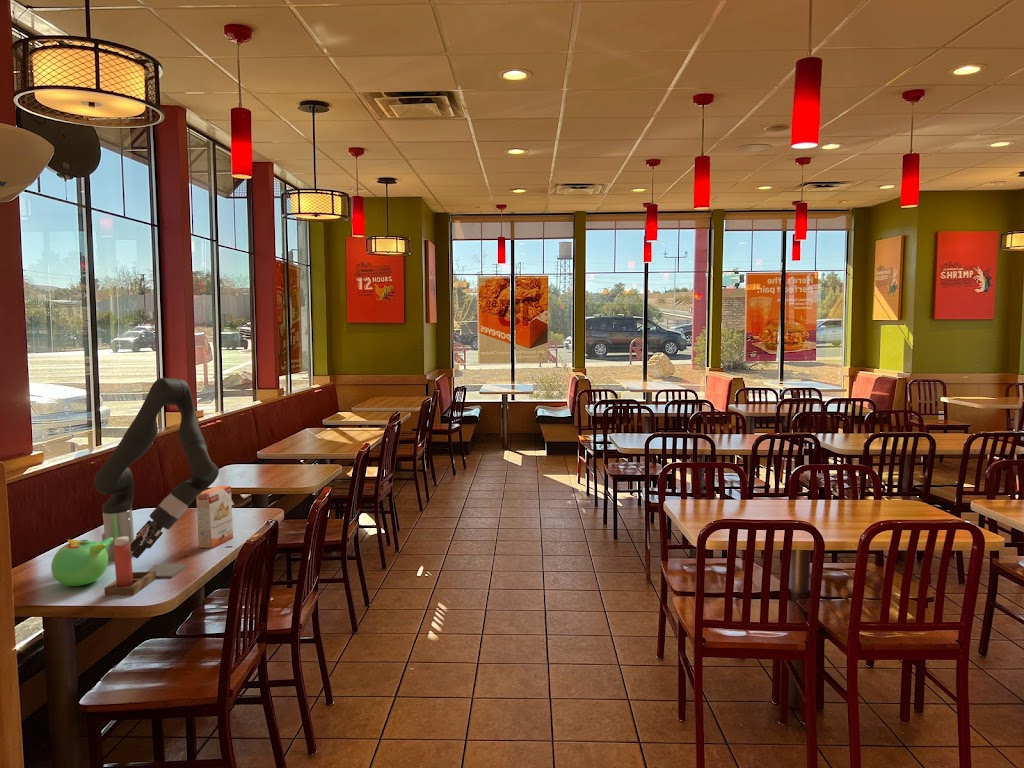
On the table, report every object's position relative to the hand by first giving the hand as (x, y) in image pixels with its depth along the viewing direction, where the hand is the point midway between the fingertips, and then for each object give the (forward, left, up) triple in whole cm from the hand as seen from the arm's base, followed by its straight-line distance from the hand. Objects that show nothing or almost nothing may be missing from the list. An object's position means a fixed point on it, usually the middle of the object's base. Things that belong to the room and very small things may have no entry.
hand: (132, 553), depth 223 cm
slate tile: (+2, +15, -12) cm, 19 cm away
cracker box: (+7, +47, -12) cm, 49 cm away
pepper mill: (-2, -2, -12) cm, 12 cm away
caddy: (-2, +2, -12) cm, 12 cm away
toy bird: (-20, +7, -12) cm, 24 cm away
